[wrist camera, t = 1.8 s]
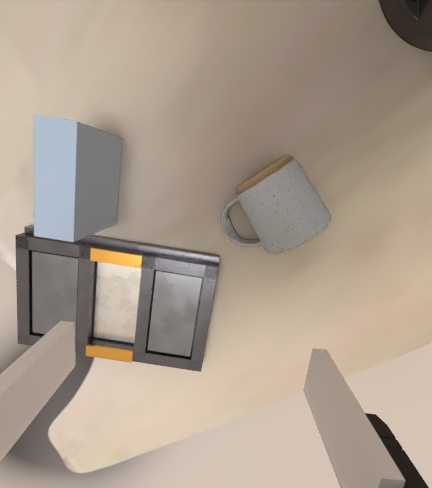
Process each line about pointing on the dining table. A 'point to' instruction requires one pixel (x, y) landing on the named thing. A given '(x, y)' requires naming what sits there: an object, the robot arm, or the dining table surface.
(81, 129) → the blue-grey rectangular block
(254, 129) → the dining table surface
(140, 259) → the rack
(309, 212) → the ceramic mug
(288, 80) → the dining table surface
